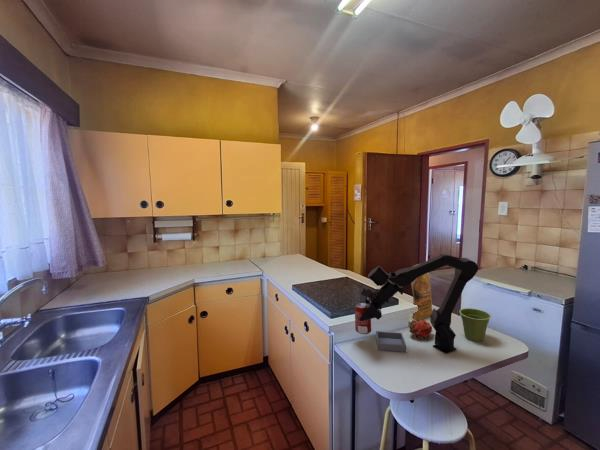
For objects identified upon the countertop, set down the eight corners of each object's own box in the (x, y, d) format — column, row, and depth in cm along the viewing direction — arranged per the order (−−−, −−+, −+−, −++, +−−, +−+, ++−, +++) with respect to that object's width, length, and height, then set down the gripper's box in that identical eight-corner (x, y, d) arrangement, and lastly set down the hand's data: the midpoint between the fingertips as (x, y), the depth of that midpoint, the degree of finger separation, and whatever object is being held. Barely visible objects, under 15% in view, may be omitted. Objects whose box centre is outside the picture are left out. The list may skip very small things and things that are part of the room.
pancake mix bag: (404, 318, 145) (404, 265, 142) (426, 309, 155) (426, 260, 153) (416, 322, 139) (416, 268, 137) (437, 313, 149) (437, 262, 147)
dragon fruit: (407, 341, 124) (428, 340, 127) (419, 337, 117) (441, 336, 121) (402, 322, 128) (422, 321, 132) (413, 317, 122) (435, 317, 125)
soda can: (368, 336, 116) (367, 309, 115) (353, 333, 120) (352, 306, 119) (373, 330, 122) (372, 303, 121) (358, 327, 125) (357, 301, 124)
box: (402, 339, 123) (402, 332, 123) (406, 352, 112) (406, 345, 112) (376, 337, 125) (376, 331, 125) (377, 350, 114) (377, 343, 114)
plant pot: (453, 336, 124) (453, 312, 123) (467, 329, 130) (468, 306, 129) (481, 347, 114) (482, 321, 113) (495, 339, 120) (496, 314, 119)
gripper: (370, 274, 127) (346, 296, 130) (372, 286, 109) (345, 312, 112) (388, 291, 126) (364, 313, 129) (393, 306, 108) (365, 332, 111)
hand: (359, 317), depth 120 cm, fingers closed on soda can, 6 cm apart
